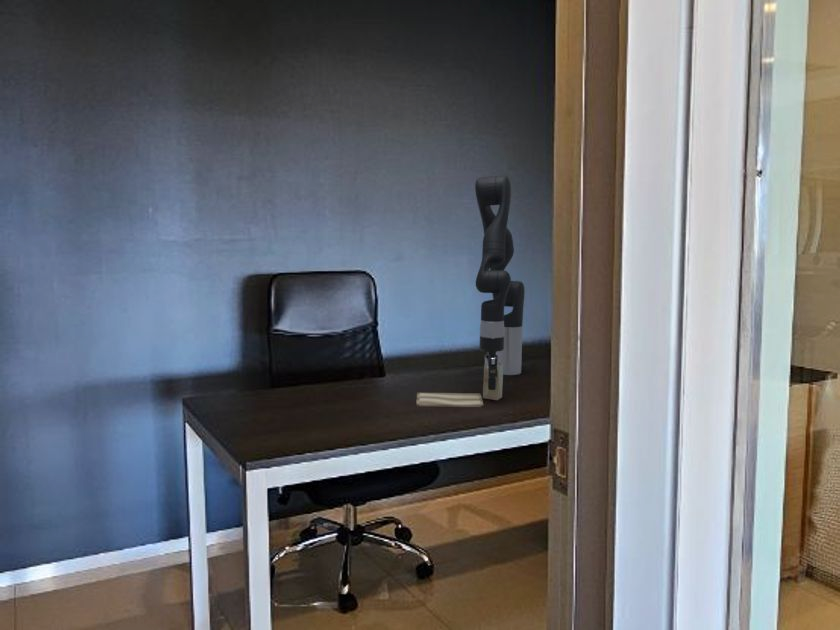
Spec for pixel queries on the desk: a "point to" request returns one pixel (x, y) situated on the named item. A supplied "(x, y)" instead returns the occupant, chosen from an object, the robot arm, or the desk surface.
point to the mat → (449, 399)
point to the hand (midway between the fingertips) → (490, 386)
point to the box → (497, 392)
